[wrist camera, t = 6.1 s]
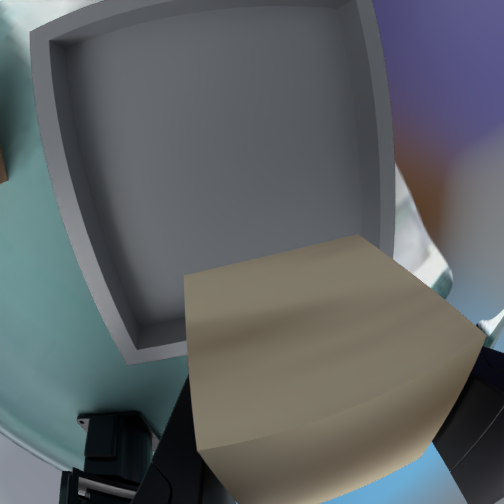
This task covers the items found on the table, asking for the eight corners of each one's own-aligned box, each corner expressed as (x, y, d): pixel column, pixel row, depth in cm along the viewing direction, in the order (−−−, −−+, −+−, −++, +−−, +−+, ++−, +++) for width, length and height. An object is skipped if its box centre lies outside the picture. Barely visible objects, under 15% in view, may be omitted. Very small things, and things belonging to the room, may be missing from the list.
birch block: (352, 356, 10) (420, 456, 6) (223, 394, 10) (253, 521, 5) (358, 234, 8) (486, 335, 4) (183, 275, 8) (197, 450, 3)
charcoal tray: (365, 275, 20) (389, 297, 17) (132, 333, 18) (127, 365, 15) (341, 1, 12) (368, -15, 9) (53, 44, 10) (29, 31, 7)
